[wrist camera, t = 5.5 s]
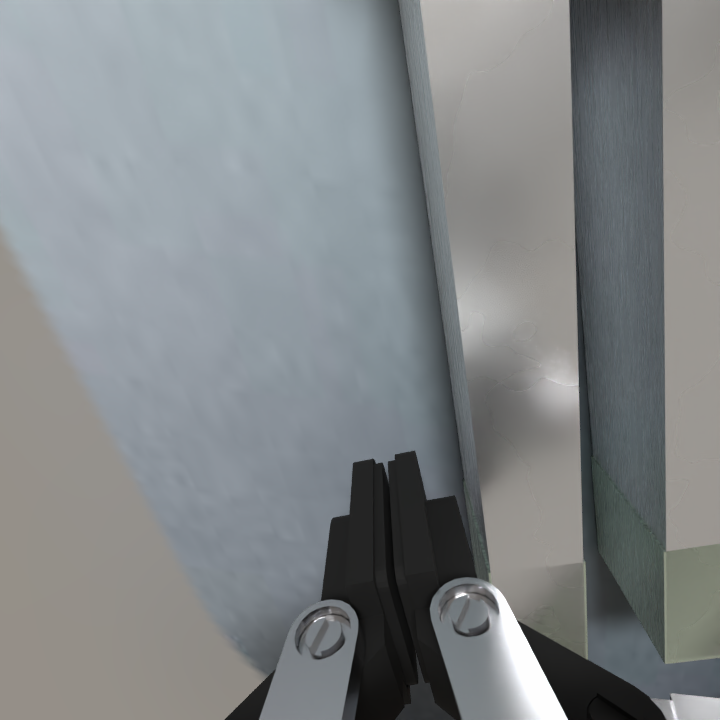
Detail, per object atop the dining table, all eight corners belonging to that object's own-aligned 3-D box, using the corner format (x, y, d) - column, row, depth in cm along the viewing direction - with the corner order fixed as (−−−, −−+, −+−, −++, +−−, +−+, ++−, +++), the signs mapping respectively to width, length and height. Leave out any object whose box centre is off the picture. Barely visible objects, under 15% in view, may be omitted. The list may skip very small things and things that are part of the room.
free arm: (591, -368, 7) (757, -792, 4) (599, 556, 14) (662, 665, 11) (355, -289, 8) (338, -621, 4) (475, 571, 15) (501, 679, 11)
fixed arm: (665, -125, 8) (854, -327, 5) (668, 539, 14) (758, 652, 11) (548, -87, 9) (656, -255, 5) (598, 550, 14) (664, 664, 11)
